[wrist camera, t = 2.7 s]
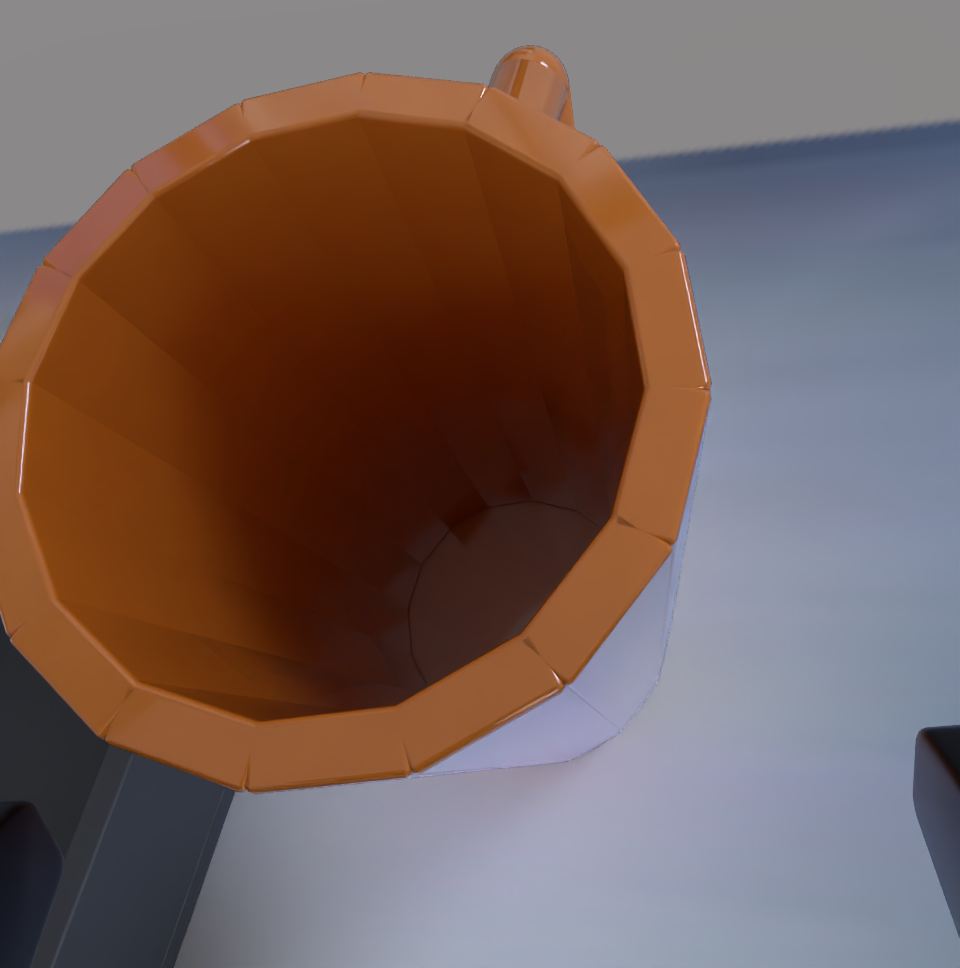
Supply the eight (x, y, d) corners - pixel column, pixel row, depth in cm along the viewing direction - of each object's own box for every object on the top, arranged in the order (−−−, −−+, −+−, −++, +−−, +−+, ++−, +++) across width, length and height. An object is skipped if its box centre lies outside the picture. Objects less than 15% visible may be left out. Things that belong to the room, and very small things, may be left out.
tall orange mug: (629, 803, 17) (585, 921, 5) (360, 716, 19) (-152, 652, 7) (721, 415, 20) (839, -140, 7) (472, 366, 21) (235, -155, 9)
